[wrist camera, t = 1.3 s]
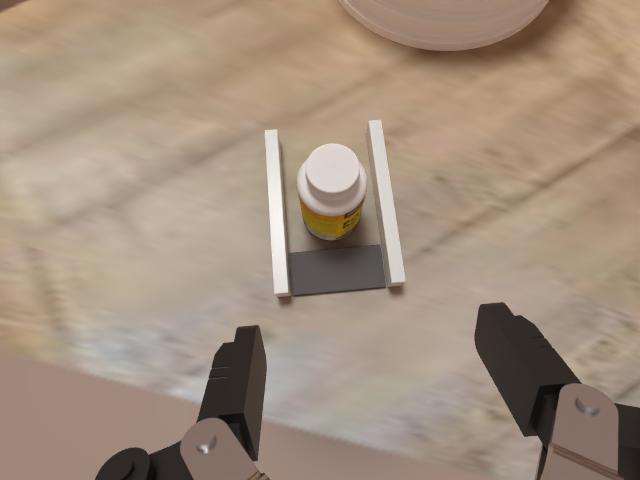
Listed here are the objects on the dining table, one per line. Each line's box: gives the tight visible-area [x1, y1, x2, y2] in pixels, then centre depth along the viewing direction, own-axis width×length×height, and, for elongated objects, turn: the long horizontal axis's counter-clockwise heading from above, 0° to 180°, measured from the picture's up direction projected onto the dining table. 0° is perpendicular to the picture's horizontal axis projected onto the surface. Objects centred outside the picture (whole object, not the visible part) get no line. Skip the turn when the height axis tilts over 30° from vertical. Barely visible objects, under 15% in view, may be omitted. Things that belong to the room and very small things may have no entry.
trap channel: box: [265, 120, 406, 297], centre depth 35 cm, size 16×11×2 cm
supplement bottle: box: [297, 144, 367, 240], centre depth 32 cm, size 6×6×10 cm
